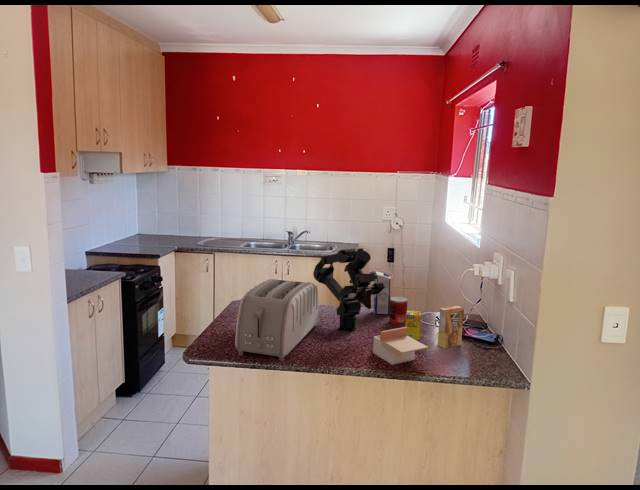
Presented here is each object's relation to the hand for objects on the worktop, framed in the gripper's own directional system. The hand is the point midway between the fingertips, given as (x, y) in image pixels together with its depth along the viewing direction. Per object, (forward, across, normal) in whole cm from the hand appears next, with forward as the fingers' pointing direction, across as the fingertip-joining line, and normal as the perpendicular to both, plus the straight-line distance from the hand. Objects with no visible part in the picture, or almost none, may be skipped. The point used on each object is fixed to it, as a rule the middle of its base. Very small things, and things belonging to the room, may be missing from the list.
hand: (369, 308), depth 188 cm
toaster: (-1, -31, +22) cm, 38 cm away
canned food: (+1, +25, +18) cm, 31 cm away
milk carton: (-9, +26, +28) cm, 39 cm away
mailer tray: (+21, 0, -2) cm, 21 cm away
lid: (+22, 0, -10) cm, 24 cm away
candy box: (+22, +27, -4) cm, 35 cm away
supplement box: (+14, +18, +5) cm, 23 cm away
